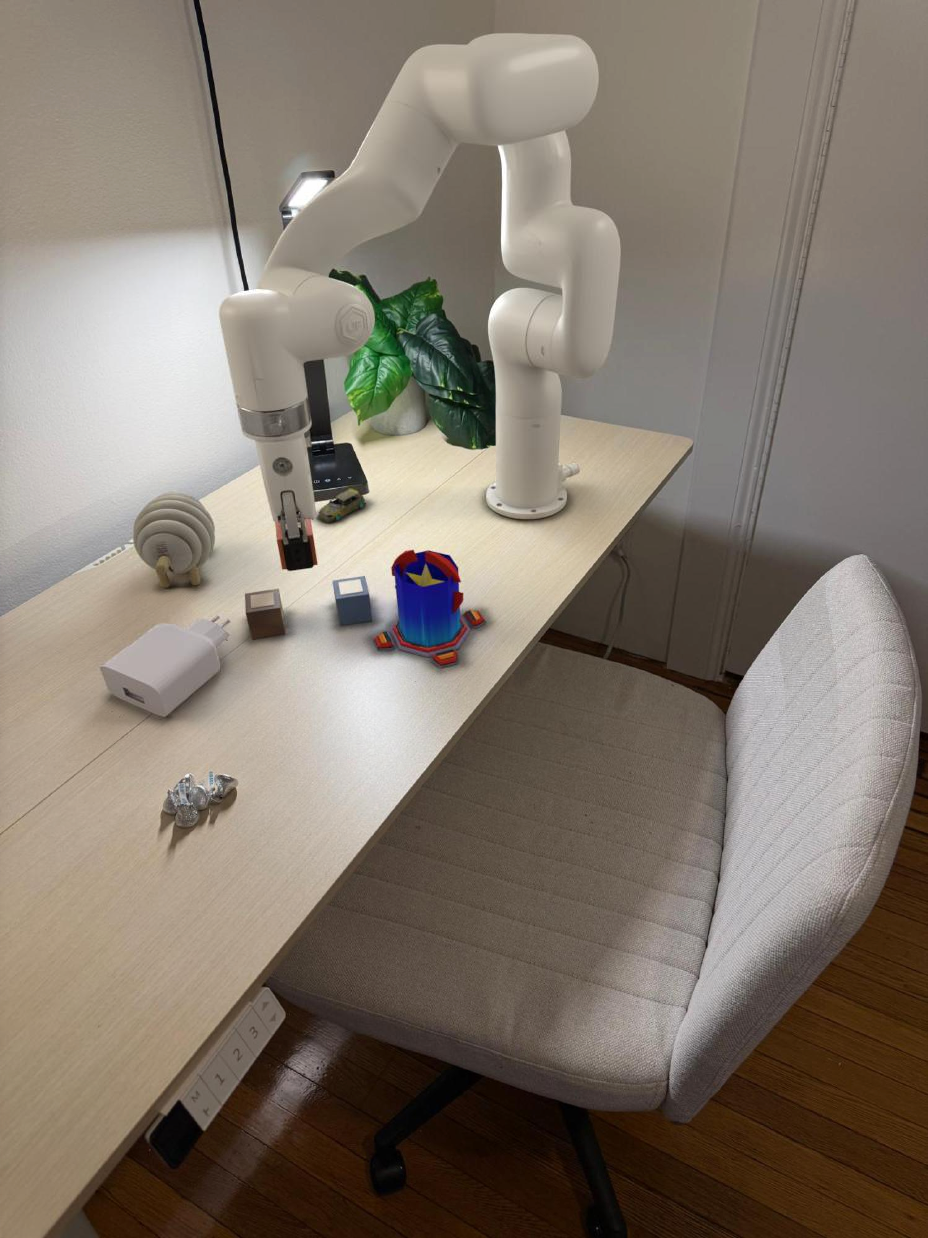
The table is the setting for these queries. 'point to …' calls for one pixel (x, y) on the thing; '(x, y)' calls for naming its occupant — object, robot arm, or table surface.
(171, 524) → the toy sheep
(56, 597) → the table surface
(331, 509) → the race car
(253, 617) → the walnut block
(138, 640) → the charger
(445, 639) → the fantasy tower
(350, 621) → the slate block
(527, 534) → the table surface
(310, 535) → the terracotta block
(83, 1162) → the table surface
